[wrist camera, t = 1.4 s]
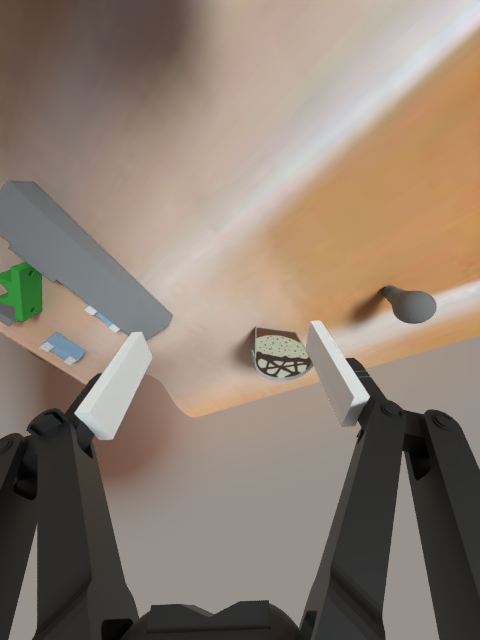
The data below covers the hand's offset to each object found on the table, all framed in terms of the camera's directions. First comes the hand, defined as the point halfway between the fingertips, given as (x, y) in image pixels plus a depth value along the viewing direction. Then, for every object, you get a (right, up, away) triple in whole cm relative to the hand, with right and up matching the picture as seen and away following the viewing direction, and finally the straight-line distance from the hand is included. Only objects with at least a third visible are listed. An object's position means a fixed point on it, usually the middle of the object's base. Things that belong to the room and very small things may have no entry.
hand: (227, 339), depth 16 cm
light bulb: (+30, +8, +24) cm, 39 cm away
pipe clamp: (-38, +9, +22) cm, 45 cm away
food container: (+9, -3, +30) cm, 32 cm away
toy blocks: (-32, +6, +23) cm, 40 cm away
